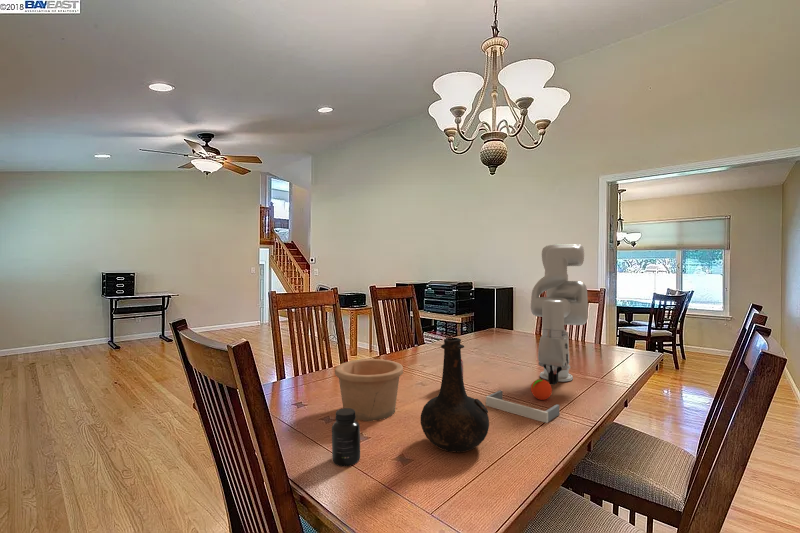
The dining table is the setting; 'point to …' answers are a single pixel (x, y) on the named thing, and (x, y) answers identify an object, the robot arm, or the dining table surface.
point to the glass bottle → (454, 408)
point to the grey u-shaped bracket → (521, 408)
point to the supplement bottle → (345, 438)
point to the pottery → (369, 387)
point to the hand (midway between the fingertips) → (553, 383)
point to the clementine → (541, 389)
